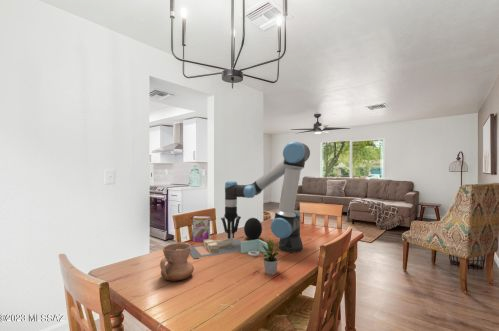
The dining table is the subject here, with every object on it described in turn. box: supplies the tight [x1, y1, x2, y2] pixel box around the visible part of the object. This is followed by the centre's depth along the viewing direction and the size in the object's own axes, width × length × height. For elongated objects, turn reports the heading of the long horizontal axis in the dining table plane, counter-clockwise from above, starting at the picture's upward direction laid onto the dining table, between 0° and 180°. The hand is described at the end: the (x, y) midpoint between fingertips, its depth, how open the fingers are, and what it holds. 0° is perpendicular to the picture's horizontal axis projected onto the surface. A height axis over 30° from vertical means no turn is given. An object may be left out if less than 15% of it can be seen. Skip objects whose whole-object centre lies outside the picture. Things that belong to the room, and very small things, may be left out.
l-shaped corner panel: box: [240, 238, 268, 258], centre depth 148 cm, size 12×12×8 cm
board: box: [189, 239, 242, 260], centre depth 159 cm, size 22×36×1 cm, turn 117°
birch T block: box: [202, 238, 232, 253], centre depth 159 cm, size 15×15×4 cm
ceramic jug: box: [159, 241, 195, 282], centre depth 118 cm, size 18×14×14 cm
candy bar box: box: [191, 215, 211, 243], centre depth 175 cm, size 11×5×16 cm, turn 84°
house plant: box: [257, 237, 283, 275], centre depth 125 cm, size 14×14×16 cm
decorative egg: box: [243, 217, 263, 240], centre depth 179 cm, size 12×12×15 cm
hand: (230, 243), depth 163 cm, fingers closed
